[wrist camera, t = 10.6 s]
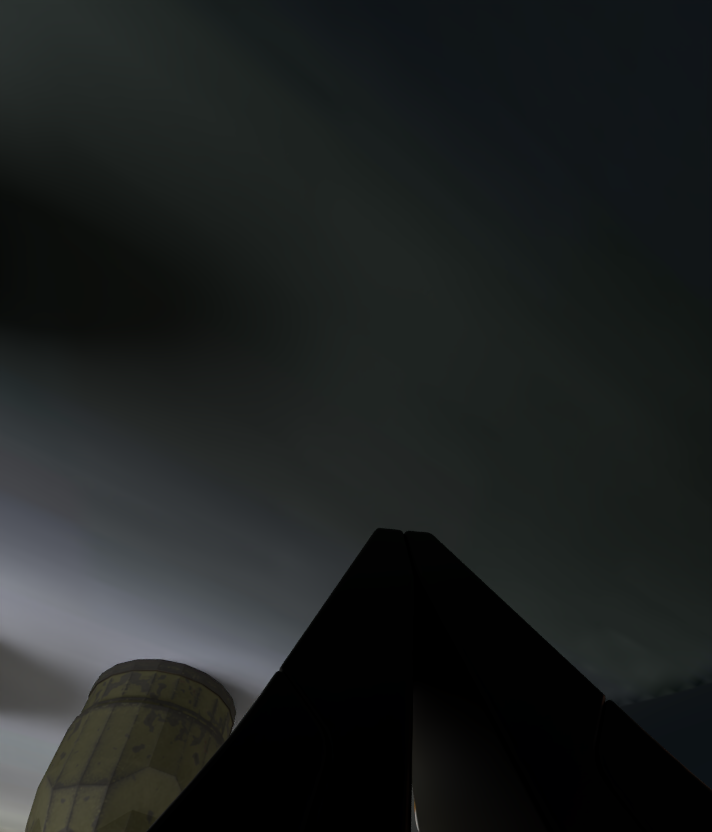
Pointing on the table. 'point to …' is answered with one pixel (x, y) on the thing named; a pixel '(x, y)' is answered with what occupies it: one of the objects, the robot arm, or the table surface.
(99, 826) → the thermos
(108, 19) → the table surface
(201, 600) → the table surface
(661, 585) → the table surface
